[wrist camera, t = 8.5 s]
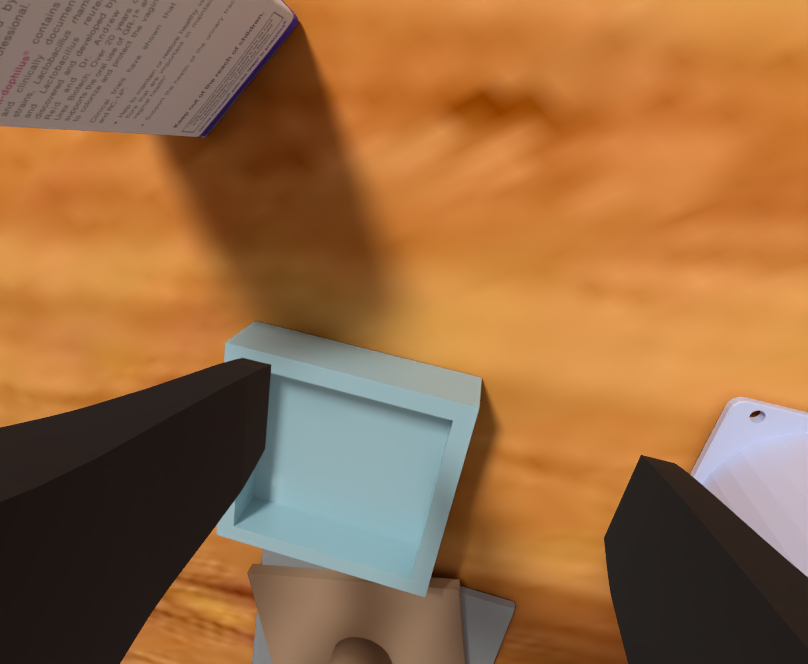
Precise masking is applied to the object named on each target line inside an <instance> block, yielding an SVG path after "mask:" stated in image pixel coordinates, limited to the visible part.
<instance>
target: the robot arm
mask: <svg viewBox="0 0 808 664" xmlns="http://www.w3.org/2000/svg"><path fill="white" fill-rule="evenodd" d="M270 377H271V364H267V363H262V362H258V361H254V360H250V359H246V358H239V359H235V360H231V361H228V362H224V363H221V364H218V365H215V366H212V367H209V368H206V369H203V370H200V371H197V372H194V373H192V374H189V375H186V376H183V377H180V378H177V379H174V380H171V381H168V382H165V383H162V384H159V385H156V386H153V387H150V388H147V389H144V390H141V391H138V392H135V393H131V394H128V395H125V396H121V397H118V398H115V399H111V400H108V401H105V402H101V403H98V404H95V405H92V406H88V407H85V408H81V409H77V410H74V411H70V412H66V413H62V414H58V415H54V416H50V417H46V418H41V419H37V420H33V421H28V422H24V423H19V424H15V425H10V426H6V427H1V428H0V664H120V662H121V661H122V659H123V658H124V656H125V654H126V653H127V651H128V650H129V648H130V646H131V645H132V643H133V641H134V640H135V638H136V637H137V635H138V633H139V632H140V630H141V629H142V627H143V625H144V624H145V622H146V621H147V619H148V617H149V616H150V614H151V613H152V611H153V610H154V608H155V607H156V605H157V604H158V603H159V601H160V600H161V598H162V597H163V595H164V594H165V593H166V591H167V590H168V588H169V587H170V586H171V584H172V583H173V582H174V580H175V579H176V578H177V576H178V575H179V574H180V572H181V571H182V570H183V568H184V567H185V566H186V565H187V563H188V562H189V561H190V559H191V558H192V557H193V555H194V554H195V553H196V551H197V550H198V549H199V547H200V546H201V545H202V543H203V542H204V541H205V539H206V538H207V537H208V535H209V534H210V533H211V532H212V530H213V529H214V528H215V526H216V525H217V524H218V522H219V521H220V520H221V518H222V517H223V516H224V514H225V513H226V511H227V510H228V509H229V507H230V506H231V505H232V503H233V502H234V501H235V499H236V498H237V497H238V495H239V494H240V492H241V491H242V489H243V488H244V486H245V484H246V483H247V481H248V479H249V477H250V476H251V474H252V472H253V470H254V469H255V467H256V465H257V463H258V461H259V459H260V458H261V456H262V454H263V452H264V450H265V445H266V431H267V418H268V404H269V391H270ZM754 411H760V414H759V415H758V416H756V417H750V414H751V413H752V412H754ZM604 542H605V552H606V562H607V571H608V578H609V586H610V592H611V597H612V601H613V605H614V609H615V613H616V617H617V621H618V625H619V629H620V633H621V637H622V641H623V645H624V649H625V653H626V656H627V660H628V664H808V412H804V411H800V410H796V409H792V408H788V407H783V406H779V405H775V404H771V403H767V402H763V401H759V400H755V399H750V398H746V397H737V398H733V399H732V400H730V401H729V402H728V403H727V404H726V405H725V407H724V409H723V411H722V413H721V415H720V417H719V419H718V421H717V423H716V425H715V427H714V429H713V431H712V433H711V435H710V436H709V438H708V440H707V442H706V444H705V446H704V448H703V450H702V452H701V454H700V456H699V458H698V460H697V462H696V464H695V465H694V467H693V469H692V471H691V473H690V474H689V473H687V472H686V471H685V470H683V469H682V468H681V467H679V466H678V465H677V464H675V463H671V462H667V461H663V460H659V459H655V458H651V457H647V456H643V455H641V456H640V459H639V461H638V463H637V465H636V467H635V470H634V472H633V474H632V476H631V479H630V481H629V483H628V485H627V488H626V490H625V492H624V494H623V497H622V499H621V501H620V503H619V506H618V508H617V510H616V512H615V515H614V517H613V519H612V521H611V524H610V526H609V528H608V530H607V533H606V535H605V537H604Z"/></svg>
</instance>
